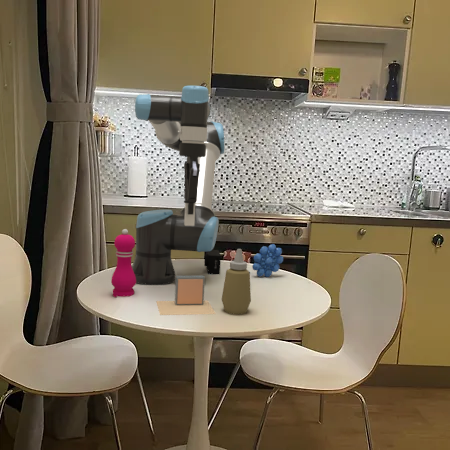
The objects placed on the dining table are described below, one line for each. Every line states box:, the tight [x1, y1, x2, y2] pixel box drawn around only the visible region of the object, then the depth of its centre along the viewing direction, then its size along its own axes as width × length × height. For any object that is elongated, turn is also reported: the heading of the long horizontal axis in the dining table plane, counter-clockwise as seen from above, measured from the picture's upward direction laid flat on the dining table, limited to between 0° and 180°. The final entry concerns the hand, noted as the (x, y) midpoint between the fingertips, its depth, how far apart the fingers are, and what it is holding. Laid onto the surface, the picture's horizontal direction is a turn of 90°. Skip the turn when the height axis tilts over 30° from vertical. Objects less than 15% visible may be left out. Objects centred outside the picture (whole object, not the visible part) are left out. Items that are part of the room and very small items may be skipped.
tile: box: [174, 275, 206, 305], centre depth 145 cm, size 2×8×8 cm, turn 102°
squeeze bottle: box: [221, 248, 252, 315], centre depth 141 cm, size 8×8×18 cm
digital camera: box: [203, 249, 221, 275], centre depth 188 cm, size 10×5×7 cm, turn 5°
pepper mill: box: [110, 228, 137, 298], centre depth 151 cm, size 7×7×20 cm
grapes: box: [252, 243, 284, 278], centre depth 184 cm, size 12×7×12 cm, turn 108°
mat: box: [155, 300, 216, 316], centre depth 142 cm, size 12×15×1 cm
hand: (189, 225), depth 148 cm, fingers closed
